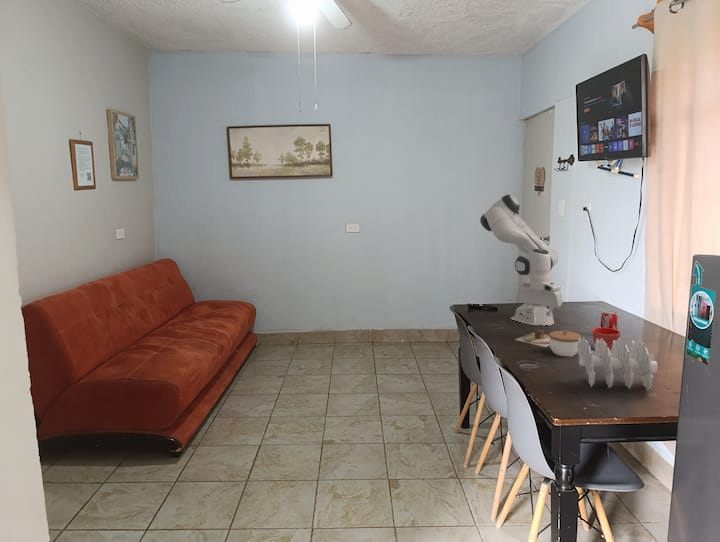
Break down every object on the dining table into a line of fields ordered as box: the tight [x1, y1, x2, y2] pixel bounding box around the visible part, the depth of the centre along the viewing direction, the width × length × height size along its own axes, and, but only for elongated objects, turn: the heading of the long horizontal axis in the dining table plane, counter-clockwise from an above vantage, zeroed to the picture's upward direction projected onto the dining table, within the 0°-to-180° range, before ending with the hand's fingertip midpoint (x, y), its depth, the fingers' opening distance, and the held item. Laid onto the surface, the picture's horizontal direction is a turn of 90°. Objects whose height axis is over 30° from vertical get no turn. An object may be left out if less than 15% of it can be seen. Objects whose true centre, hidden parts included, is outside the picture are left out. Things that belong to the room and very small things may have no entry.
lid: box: [523, 329, 550, 344], centre depth 238 cm, size 14×14×4 cm
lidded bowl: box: [548, 329, 582, 359], centre depth 217 cm, size 13×13×11 cm
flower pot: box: [592, 327, 622, 350], centre depth 220 cm, size 11×11×10 cm
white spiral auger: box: [577, 336, 658, 391], centre depth 183 cm, size 18×18×25 cm
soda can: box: [600, 310, 618, 330], centre depth 242 cm, size 7×7×12 cm
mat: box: [514, 332, 550, 348], centre depth 238 cm, size 16×16×1 cm
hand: (539, 314), depth 236 cm, fingers open, 8 cm apart
